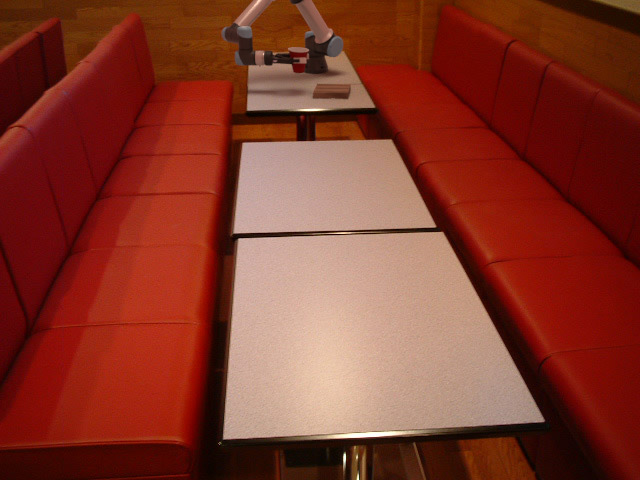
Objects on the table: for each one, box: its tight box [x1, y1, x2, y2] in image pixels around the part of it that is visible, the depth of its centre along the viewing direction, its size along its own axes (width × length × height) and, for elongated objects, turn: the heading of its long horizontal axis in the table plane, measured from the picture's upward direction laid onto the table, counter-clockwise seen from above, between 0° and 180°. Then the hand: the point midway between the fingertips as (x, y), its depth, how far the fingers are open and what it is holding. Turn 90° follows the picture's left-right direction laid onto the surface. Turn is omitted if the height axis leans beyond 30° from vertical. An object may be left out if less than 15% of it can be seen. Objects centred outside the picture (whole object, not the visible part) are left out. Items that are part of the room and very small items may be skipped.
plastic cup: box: [287, 46, 309, 74], centre depth 330 cm, size 11×11×12 cm
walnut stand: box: [312, 83, 352, 100], centre depth 333 cm, size 18×18×3 cm
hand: (307, 58), depth 329 cm, fingers closed on plastic cup, 9 cm apart
